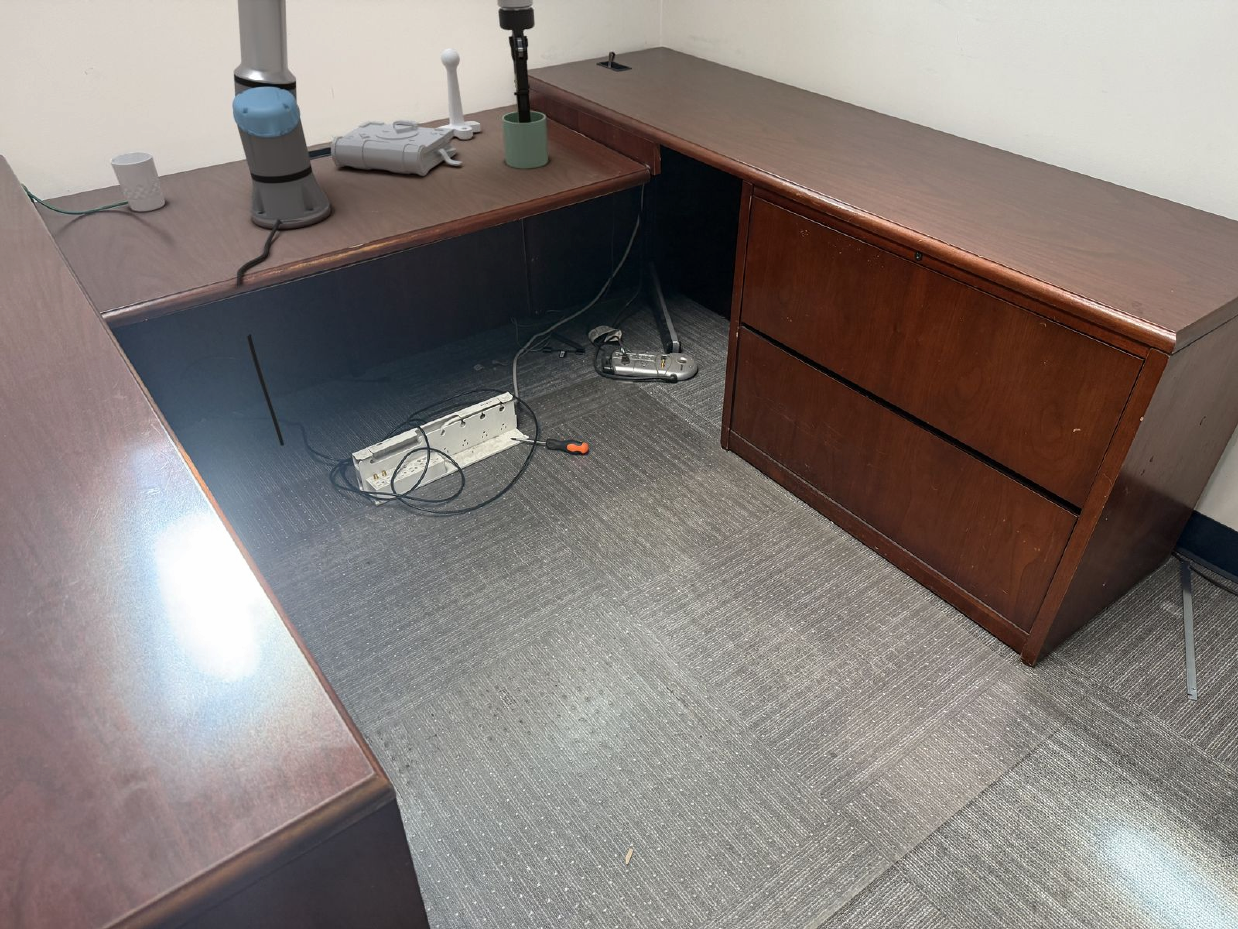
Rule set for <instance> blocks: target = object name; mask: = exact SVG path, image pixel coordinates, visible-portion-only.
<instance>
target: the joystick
mask: <svg viewBox="0 0 1238 929" xmlns="http://www.w3.org/2000/svg"><path fill="white" fill-rule="evenodd" d="M440 60H441V63H442V65H443V66H444V67H445V69H446V79H447V82H446V83H447V98H448V99H447V100H448V115H449V116H448V117H449V124H445V125H441V126H438V127H437V128H449V129H453V130H454V137H457V138H458V139H459V140H470V139H472V137H473V135H474V133H479V132H482V130H481V129H482V128H481V123H480V122H477V121H475V120H469V121H465V118H464V111H463V105H462V97H461V91H460V84H459V78H458V66H459V65H460V62H461V57H460V54H459V53H458V51H457V50H455V49H454V48H449V47H448V48H446V49H444V50H443V51H442V52H441V56H440Z"/></svg>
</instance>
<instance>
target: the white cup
mask: <svg viewBox="0 0 1238 929" xmlns="http://www.w3.org/2000/svg"><path fill="white" fill-rule="evenodd" d="M109 163H110V165H111V168H112V170H113V173H114V175H115V177H116V179H117V181H118V184H119V186H120V189H121V191H122V193H123V196H124V197H125V198H126V202H127V204H128V207H129V208H130V209H131V210H132V211H135V212H150V211H155V210H159V209H161V208H162V207H164V206H165V204H166V200H165V197H164V194H163V188H162V185H161V181H160V177H159V174H158V170H157V167H156V164H155V160H154V156H153V154H152V153H150V152H147V151H132V152H125V153H121V154H118V155H115V156H113V157H111V158H110V159H109Z"/></svg>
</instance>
